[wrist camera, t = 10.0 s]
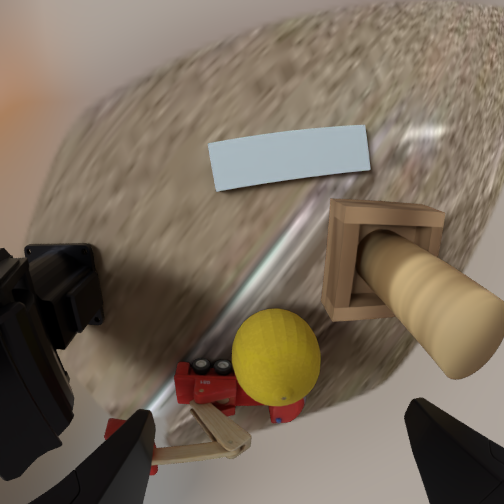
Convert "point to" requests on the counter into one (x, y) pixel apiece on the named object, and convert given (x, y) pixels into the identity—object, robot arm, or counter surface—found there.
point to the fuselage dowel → (433, 302)
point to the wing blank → (288, 156)
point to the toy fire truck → (211, 413)
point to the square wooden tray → (345, 249)
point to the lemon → (276, 357)
